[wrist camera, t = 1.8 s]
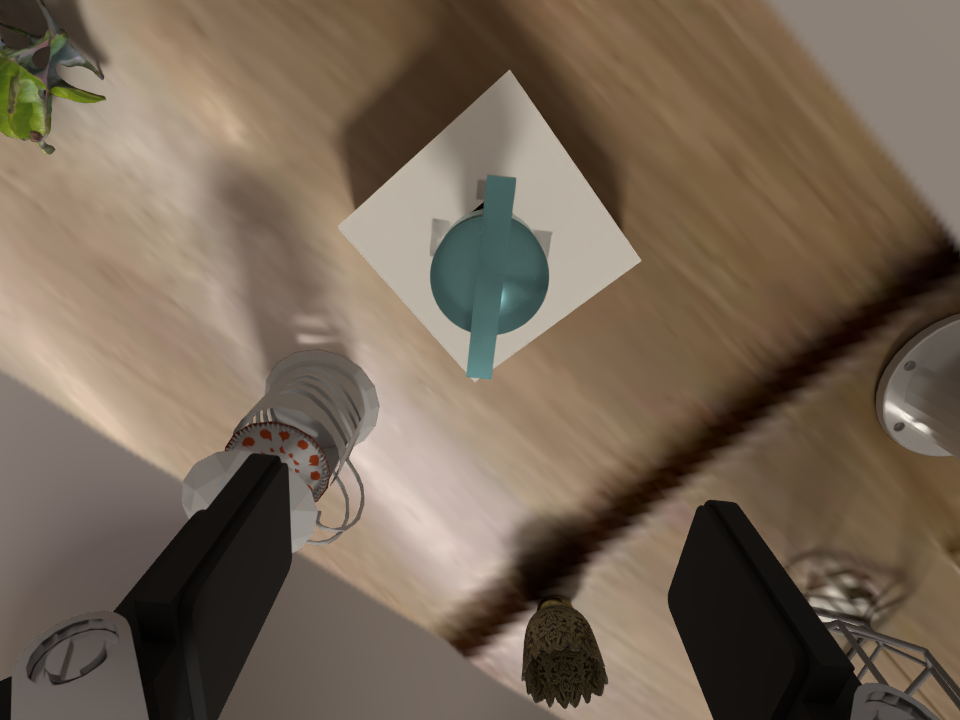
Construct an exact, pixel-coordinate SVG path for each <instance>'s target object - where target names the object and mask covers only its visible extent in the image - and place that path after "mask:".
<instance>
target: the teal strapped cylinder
mask: <svg viewBox="0 0 960 720" xmlns="http://www.w3.org/2000/svg"><path fill="white" fill-rule="evenodd" d="M515 186H516V178H515V177H508V176H499V175H490V174H487V180H486V190H485V199H484V209H481V210H477V211H474V212H471V213H468V214H467V215H465V216H463V217H461V218H460V219H459V220H457V221H456V222H455V223H454V224H453V225H452V226H451V227H450V229H449V230H448V231H447V233H446V235H445V236H444V238H443V240H442V241H441V243H440V245H439V246H438V248H437V250H436V252H435V254H434V257H433V260H432V264H431V269H430V284H431V290H432V293H433V296H434V299H435V301H436V303H437V305H438V307H439V309H440V310H441V311H442V313H443V314H444V315H445V316H446V317H447V318H448V319H449V320H450V321H451V322H452V323H454V324H455V325H456V326H458V327H460V328H461V329H464V330H466V331H468V332H471V334H470V344H469V354H468V363H467V373H466V377H472V378H481V379H491V378H492V370H493V362H494V354H495V346H496V338H497V335H500V334H505V333H508V332H511V331H513V330H515V329H517V328H519V327H521V326H522V325H524V324H526V323H527V322H528V321H529V320H530V319H531V318H532V317H533V316H534V315H535V314H536V313H537V311H538V310H539V309H540V307H541V305H542V303H543V302H544V299H545V297H546V294H547V290H548V286H549V267H548V262H547V259H546V256H545V253H544V251H543V249H542V247H541V245H540V244H539V242H538V240H537V238H536V236H535V234H534V233H533V231H532V230H531V229H530V227H529V226H528V225H527V224H526V223H525V222H524V221H523V220H522V219H520V218H519V217H517V216H516V215H514V214H512V210H513V202H514V194H515Z"/></svg>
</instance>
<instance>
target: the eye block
mask: <svg viewBox="0 0 960 720" xmlns="http://www.w3.org/2000/svg"><path fill="white" fill-rule="evenodd" d="M487 174H490V175H499V176H508V177H515V178H516V186H515V194H514V202H513V210H512V213H513V214H514V215H516V216H517V217H519V218H520V219H522V220H523V221H524V222H525V223H526V224H527V225H528V226H529V227H530V229H531V230H532V231H533V233H534V234H535V236H536V238H537V240H538V242H539V244H540V245H541V247H542V249H543V251H544V253H545V256H546V259H547V262H548V267H549V286H548V290H547V294H546V297H545V299H544V302H543V303H542V305H541V307H540V309H539V310H538V311H537V313H536V314H535V315H534V316H533V317H532V318H531V319H530V320H529V321H528V322H527V323H526V324H524V325H522V326H521V327H519V328H517V329H515V330H513V331H511V332H508V333H505V334H500V335H497V338H496V346H495V354H494V362H493V369H494V368H495V367H496V366H498V365H499V364H501V363H502V362H503V361H505V360H506V359H507V358H509V357H510V356H512V355H513V354H514V353H516V352H517V351H518V350H520V349H521V348H523V347H524V346H525V345H527V344H528V343H529V342H531V341H532V340H533V339H535V338H536V337H538V336H539V335H540V334H542V333H543V332H544V331H546V330H547V329H549V328H550V327H551V326H553V325H554V324H555V323H557V322H558V321H560V320H561V319H562V318H564V317H565V316H566V315H568V314H569V313H571V312H572V311H573V310H575V309H576V308H577V307H579V306H580V305H581V304H583V303H584V302H586V301H587V300H588V299H590V298H591V297H592V296H594V295H595V294H597V293H598V292H599V291H601V290H602V289H603V288H605V287H606V286H608V285H609V284H610V283H612V282H613V281H614V280H616V279H617V278H618V277H620V276H621V275H623V274H624V273H625V272H627V271H628V270H629V269H631V268H632V267H634V266H635V265H636V264H638V263H639V262H640V261H641V259H640V258H639V256H638V255H637V253H636V252H635V251H634V249H633V248H632V246H631V245H630V243H629V242H628V240H627V239H626V238H625V236H624V235H623V233H622V232H621V230H620V229H619V227H618V226H617V224H616V223H615V222H614V220H613V219H612V217H611V216H610V214H609V213H608V211H607V210H606V209H605V207H604V206H603V204H602V203H601V201H600V200H599V198H598V197H597V195H596V194H595V193H594V191H593V190H592V188H591V187H590V185H589V184H588V182H587V181H586V179H585V178H584V177H583V175H582V174H581V172H580V171H579V169H578V168H577V166H576V165H575V164H574V162H573V161H572V159H571V158H570V156H569V155H568V153H567V152H566V150H565V149H564V148H563V146H562V145H561V143H560V142H559V140H558V139H557V137H556V136H555V135H554V133H553V132H552V130H551V129H550V127H549V126H548V124H547V123H546V121H545V120H544V119H543V117H542V116H541V114H540V113H539V111H538V110H537V108H536V107H535V106H534V104H533V103H532V101H531V100H530V98H529V97H528V95H527V94H526V92H525V91H524V90H523V88H522V87H521V85H520V84H519V82H518V81H517V79H516V78H515V76H514V75H513V74H512V72H511V71H510V70H509V71H507V72H506V73H505V74H504V75H503V76H502V77H501V78H500V79H499V80H498V81H497V82H495V83H494V84H493V85H492V86H491V87H490V88H489V89H488V90H487V91H486V92H484V93H483V94H482V95H481V96H480V97H479V98H478V99H477V100H476V101H475V102H474V103H472V104H471V105H470V106H469V107H468V108H467V109H466V110H465V111H464V112H463V113H461V114H460V115H459V116H458V117H457V118H456V119H455V120H454V121H453V122H452V123H451V124H449V125H448V126H447V127H446V128H445V129H444V130H443V131H442V132H441V133H440V134H438V135H437V136H436V137H435V138H434V139H433V140H432V141H431V142H430V143H429V144H428V145H426V146H425V147H424V148H423V149H422V150H421V151H420V152H419V153H418V154H417V155H415V156H414V157H413V158H412V159H411V160H410V161H409V162H408V163H407V164H406V165H405V166H403V167H402V168H401V169H400V170H399V171H398V172H397V173H396V174H395V175H394V176H393V177H391V178H390V179H389V180H388V181H387V182H386V183H385V184H384V185H383V186H382V187H380V188H379V189H378V190H377V191H376V192H375V193H374V194H373V195H372V196H371V197H370V198H368V199H367V200H366V201H365V202H364V203H363V204H362V205H361V206H360V207H359V208H357V209H356V210H355V211H354V212H353V213H352V214H351V215H350V216H349V217H348V218H347V219H345V220H344V221H343V222H342V223H341V224H340V225H339V226H338V227H337V228H338V229H339V230H340V231H341V232H342V233H343V234H344V235H345V237H346V238H347V239H348V240H349V241H350V242H351V243H352V244H353V246H354V247H355V248H356V249H357V250H358V251H359V252H360V254H361V255H362V256H363V257H364V258H365V259H366V260H367V261H368V263H369V264H370V265H371V266H372V267H373V268H374V269H375V270H376V272H377V273H378V274H379V275H380V276H381V277H382V278H383V279H384V281H385V282H386V283H387V284H388V285H389V286H390V287H391V288H392V290H393V291H394V292H395V293H396V294H397V295H398V296H399V297H400V299H401V300H402V301H403V302H404V303H405V304H406V305H407V307H408V308H409V309H410V310H411V311H412V312H413V313H414V314H415V316H416V317H417V318H418V319H419V320H420V321H421V322H422V323H423V325H424V326H425V327H426V328H427V329H428V330H429V331H430V332H431V334H432V335H433V336H434V337H435V338H436V339H437V340H438V341H439V343H440V344H441V345H442V346H443V347H444V348H445V349H446V350H447V352H448V353H449V354H450V355H451V356H452V357H453V358H454V359H455V361H456V362H457V363H458V364H459V365H460V366H461V367H462V369H463V370H464V371H465V372H466V373H467V363H468V354H469V344H470V334H471V332H468V331H466V330H464V329H461V328H460V327H458V326H456V325H455V324H454V323H452V322H451V321H450V320H449V319H448V318H447V317H446V316H445V315H444V314H443V313H442V311H441V310H440V309H439V307H438V305H437V303H436V301H435V299H434V296H433V293H432V290H431V284H430V269H431V264H432V260H433V257H434V254H435V252H436V250H437V248H438V246H439V245H440V243H441V241H442V240H443V238H444V236H445V235H446V233H447V231H448V230H449V229H450V227H451V226H452V225H453V224H454V223H455V222H456V221H457V220H459V219H460V218H461V217H463V216H465V215H467V214H468V213H471V212H472V211H473V210H474V209H476V208H477V207H478V206H479V205H480V204H482V203H483V202H484V199H485V190H486V180H487ZM470 378H471V379H472V380H473V381H474V382H476V381H477V380H479V379H480V378H472V377H470Z"/></svg>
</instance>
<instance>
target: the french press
mask: <svg viewBox="0 0 960 720" xmlns="http://www.w3.org/2000/svg"><path fill="white" fill-rule="evenodd" d="M267 409H268V412H269V415H270V418H271V420H272V421H270V422H269V421H268V416H267ZM261 410H263V419H264V422H262V423H261V421H260V411H261ZM378 411H379V402H378V398H377V394H376V390H375V386H374V385H373V384H372V382H371V381H370V379H369V378H368V377H367V375H366V374H365V373H364V371H363V370H362V369H361V368H360V367H359V366H357V365H356V364H354V363H353V362H351V361H350V360H348V359H346V358H345V357H343V356H342V355H339V354H335V353H331V352H326V351H322V350H310V351H302V352H295V353H294V354H292V355H290V356H289V357H287V358H285V359H284V360H282V361H280V362H279V363H277V364H276V366H275V368H274V369H273V371H272V372H271V374H270V375H269V377H268V378H267V380H266V389H265V396H264V397H263V398H262V399H261V400H260V401H259V402H258V403H257V404H256V405H255V406H254V407H253V408H252V409H251V411H250V412H249V413H248V414H247V415H246V416H245V417H244V418H243V419H242V420H241V421H240V423H239V424H238V426H237V427H236V428H235V430H234V433H233V436H232V438H231V439H230V441H229V442H228V444H227V446H226V447H225V451H223V452H216V453H214V454H213V455H211V456H209V457H207V458H205V459H203V460H201V461H199V462H197V463H196V464H195V465H194V466H193V467H192V469H191V470H190V472H189V473H188V475H187V476H186V478H185V479H184V481H183V487H182V489H183V490H182V504H183V507H184V509H185V511H186V514H187V516H188V519H190V518H191V517H192V516H193V515H194V514H195V513H196V512H197V511H199V510H201V509H205V510H206V509H207V508H208V507H209V505H210V504H211V503H212V502H213V500H214V499H215V498H216V497H217V495H218V494H219V493H220V491H221V490H222V489H223V488H224V486H225V485H226V484H227V483H228V481H229V480H230V479H231V478H232V476H233V475H234V474H235V473H236V471H237V470H238V469H239V468H240V466H241V465H242V464H243V463H244V461H245V460H246V459H247V458H248V456H249V455H250V454H252V453H259V454H269V455H278V456H279V457H280V459H281V462H282V463H287V464H288V468H289V491H290V516H291V540H292V553H293V552H295V551H297V550H299V549H301V548H302V547H303V546H304V544H305V543H309V544H313V545H323V544H329V543H331V542H332V541H334V540H336V539H337V538H338V537H339V536H340V535H341V534H342V533H343V531H346V530H347V529H348V528H350V527H351V526H353V525H354V524H356V522H357V521H358V520H359V519H360V516H361V513H362V510H363V507H364V489H363V484H362V482H361V479H360V477H359V474H358V473H357V471H356V470H355V468H354V466H353V465H352V463H351V462H350V460H349V456H350V454H351V451H352V449H353V447H354V446H355V445H357V444H359V443H361V442H363V441H364V440H365V439H366V437H367V436H368V435H369V434H370V432H371V431H372V430H373V428H374V427H375V426H376V421H377V416H378ZM255 415H256V423H254V424H253V417H254V416H255ZM248 422H249V425H248V426H246V427H245V425H246V424H247V423H248ZM339 460H340V465H339V469H338V471H337V473H336V472H335V468H336V466H337V464H338V462H339ZM345 460H346V462H347V463H348V465H349V467H350V468H351V470H352V472H353V473H354V475H355V477H356V479H357V481H358V483H359V486H360V489H361V504H360V508H359V511H358V514H357V517H356V518H355V519H354V520H353V521H352V523H351V524H349V525H347V526H346V524H347V522H348V519H349V498H348V495H347V493H346V490H345V487H344V485H343V483H342V482H341V480H340V479H339V477H338V475H339V472H340V470H341V468H342V466H343V464H344V462H345ZM332 473H333V475H334V479H333V481H332V483H333V482H334V481H335V479H336V480H337V482H338V484H339V485H340V487H341V489H342V492H343V494H344V496H345V499H346V514H345V520H344V523H343V525H342V527H340V528H333V529H332V528H329V527H326V526H323V525H322V524H321V523H320V521H319V519H320V516H321V511H317V508H316V505H315V502H317V501H318V500H319V499H320V497H321V496H322V495H323V493H324V492H325V491H326V489H327V488H328V483H329V479H330V477H331V475H332ZM332 483H331V484H332ZM330 486H331V485H330ZM315 524H317V527H318V528H319V529H321V530H325V531H330V532H338V533H337V534H336V535H335V536H333V537H331V538H330V539H328V540H323V541H312V540H308V539H309V538H310V537H311V535H312V534H313V533H314V529H315Z"/></svg>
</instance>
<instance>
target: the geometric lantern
mask: <svg viewBox="0 0 960 720" xmlns="http://www.w3.org/2000/svg"><path fill="white" fill-rule="evenodd" d="M814 612H815V613H816V614H817V615H818V616H823V617H827V618H832V619H837V620H834V621H832V622H823V624H824V626H825V627H826V628H827V630H828V631H833V632H838V633H842V634H844V635H845V637H846V638H847V640H848V641H849V642H850V644H851V645H852V647H853V650H852V651H851V652H850V653H849V655H848V656H847V658H848V659H849V661H850V660H851V659H852V657H853V656H854V655H855V654H856V652H857V653H858V655H859V656H860V658H861V659H862V660H863V662H864V663H865V665H864V667H863V668H862V670H861V671H860V673H859V674H858V676H857V678H858V679H859V681H860V680H861V679H862V677H863V676H864V674H865V673H866V671H867V670H868V669H869V670H870V671H871V673H872V674H873V676H874V677H875V678H876V680H877V681H878V682H879V683H880V684H884V685H887V686H889V685H888V683H887V682H886V681H885V679H884V678H883V676H882V675H881V674H880V672H879V671H878V670H877V668H876V667H875V666H874V664H873V663H872V662H873V661H874V660H875V658H876V657H877V655H878V654H879V652H880V651H881V649H882V648H883V647H884V648H886V649H888V650H890V651H892V652H894V653H897V654H899V655H901V656H903V657H905V658H908V659H910V660H912V661H914V662H916V663H918V664H921V665H923V666H925V667H926V668H925V669H924V670H923V671H922V673H921V674H920V675H919V676H918V677H917V678H916V679H915V680H914V682H913V683H912V684H911V685H910V686H909V687H908V688H907V689H906V691H905V692H904V693H906V694H908V695H909V696H912V695H913V694H914V693H915V692H916V690H917V689H918V688H919V687H920V686H921V685H922V684H923V683H924V682H925V680H926V679H927V678H928V677H929V676H930V675H931V674H932V675H933V677H934V678H935V679H936V680H937V682H938V683H939V684H940V686H941V687H942V688H943V690H944V691H945V692H946V693H947V695H948V696H949V697H950V699H951V700H952V701H953V702H954V704H955V705H956V706H957V708H958V709H959V710H960V700H959V698H960V688H959V687H958V686H957V685H956V683H955V682H954V681H953V680H952V679H951V677H950V676H949V675H948V674H947V673H946V671H945V670H944V669H943V668H942V667H941V665H940V664H939V663H938V662H937V661H936V659H935V658H934V657H933V656H932V654H931V653H930V652H929V650H928V649H926V648H923V647H920V646H917V645H914V644H911V643H908V642H905V641H902V640H899V639H896V638H892V637H889V636H886V635H883V634H880V633H877V632H874V630H873V629H872V628H871V627H870V626H869V625H868V624H867V623H866V622H865V621H859V620H854V619H850V618H845V617H841V616H836V615H831V614H827V613H822V612H818V611H814ZM840 620H841V621H840ZM843 621H846V622H850V623H855V624H859V625H864V626H865V627H866V628H867V629H865V628H862V627H858V626H855V625H852V624H849V623H846V622H843ZM837 627H839V629H838V628H837ZM848 630H851V631H854V632H851V631H848ZM856 632H857V633H856ZM860 633H861V634H860ZM853 636H856V637H860V638H861V639H860V640H859V642H858V643H857V641H856V640H855V639H854V637H853ZM866 639H869V640H873V641H876V643H877V644H878V646H877V647H876V649H875V650H874V652H873V653H872V655H871V656H870V658H869V657H868V656H867V655H866V653H865V652H864V651H863V649H862V648H861V646H862V644H863V643H864V642H865V641H866ZM884 643H886V644H890V645H894V646H898V647H902V648H906V649H909V650H913V651H916V652H919V653H923V655H924V657H925V660H926V662H923V661H921V660H919V659H917V658H915V657H912V656H910V655H908V654H906V653H904V652H901V651H899V650H897V649H895V648H893V647H890V646H888V645H886V644H884ZM935 669H936V670H937V671H938V672H937V671H936V670H935ZM939 674H940V675H941V676H942V677H941V676H940V675H939ZM943 679H944V680H945V681H946V682H947V683H946V682H945V681H944V680H943ZM947 684H948V685H949V686H950V687H951V688H950V687H949V686H948V685H947ZM951 689H952V690H953V691H954V692H955V693H956V695H957V696H958V697H959V698H958V697H957V696H956V695H955V693H954V692H953V691H952V690H951Z"/></svg>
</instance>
